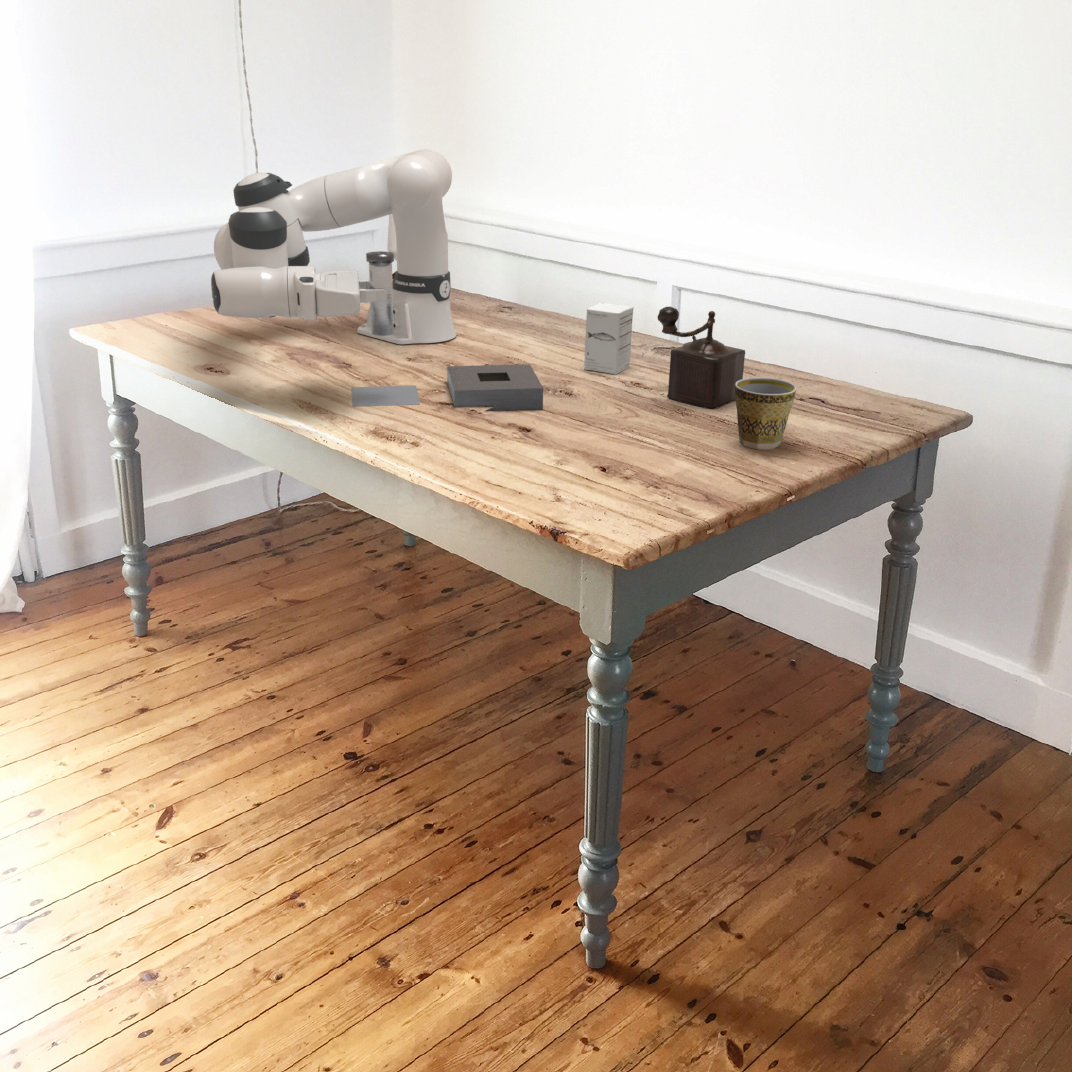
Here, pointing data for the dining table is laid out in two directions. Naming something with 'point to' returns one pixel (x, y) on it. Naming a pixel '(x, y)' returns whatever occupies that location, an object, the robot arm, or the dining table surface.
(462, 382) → the block
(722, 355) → the manual coffee grinder
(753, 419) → the ceramic cup
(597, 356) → the supplement box
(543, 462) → the dining table surface
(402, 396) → the rest pad
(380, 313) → the steel rivet
